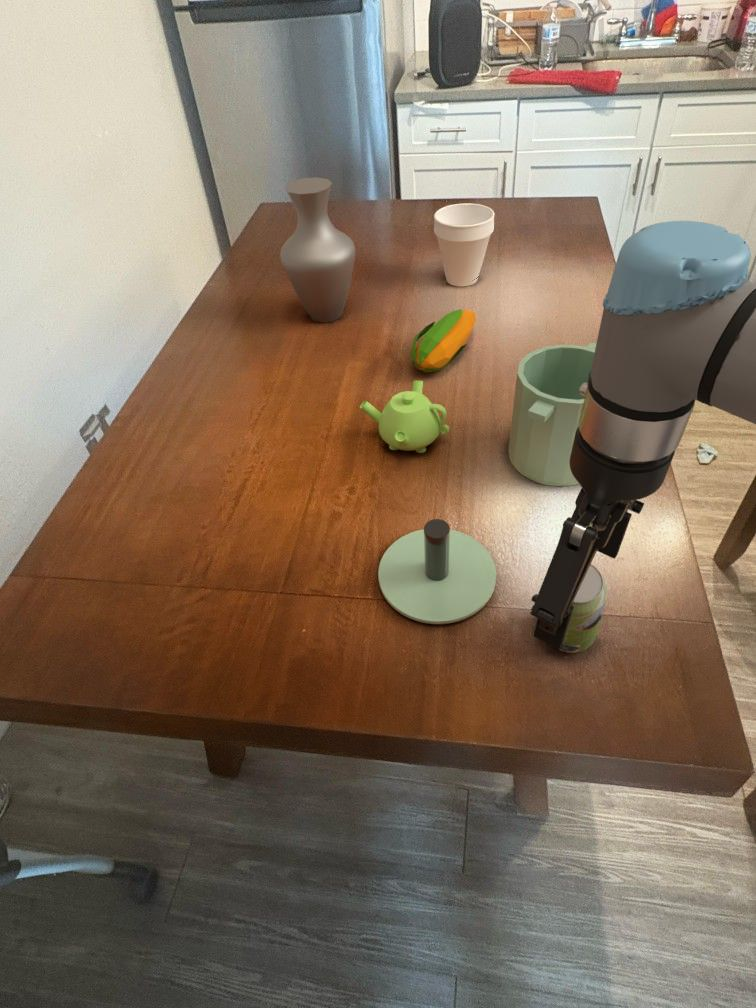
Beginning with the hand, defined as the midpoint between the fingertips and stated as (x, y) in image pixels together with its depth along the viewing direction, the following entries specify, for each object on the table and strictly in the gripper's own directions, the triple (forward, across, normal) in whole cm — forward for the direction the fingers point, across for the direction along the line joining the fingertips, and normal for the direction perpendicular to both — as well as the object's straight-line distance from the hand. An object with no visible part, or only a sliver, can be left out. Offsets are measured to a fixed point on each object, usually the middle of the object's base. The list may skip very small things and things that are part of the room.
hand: (577, 593), depth 63 cm
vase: (+10, -43, -73) cm, 85 cm away
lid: (+8, +1, -17) cm, 18 cm away
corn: (+9, -43, -44) cm, 62 cm away
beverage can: (+9, 0, 0) cm, 9 cm away
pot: (+9, -28, -15) cm, 33 cm away
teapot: (+9, -19, -36) cm, 41 cm away
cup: (+10, -70, -57) cm, 90 cm away
